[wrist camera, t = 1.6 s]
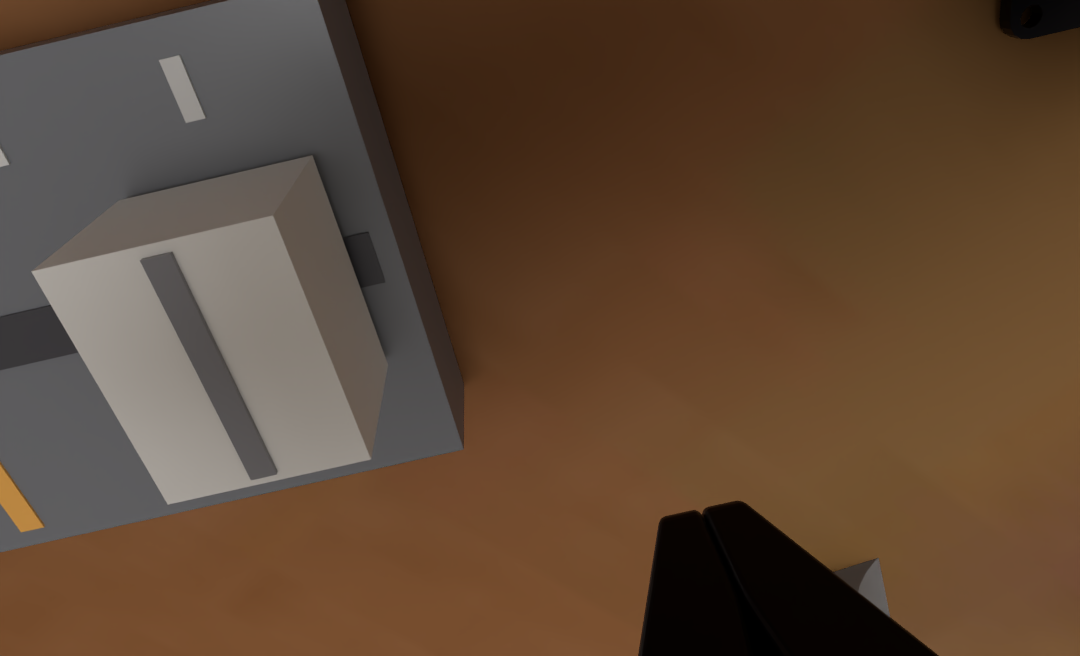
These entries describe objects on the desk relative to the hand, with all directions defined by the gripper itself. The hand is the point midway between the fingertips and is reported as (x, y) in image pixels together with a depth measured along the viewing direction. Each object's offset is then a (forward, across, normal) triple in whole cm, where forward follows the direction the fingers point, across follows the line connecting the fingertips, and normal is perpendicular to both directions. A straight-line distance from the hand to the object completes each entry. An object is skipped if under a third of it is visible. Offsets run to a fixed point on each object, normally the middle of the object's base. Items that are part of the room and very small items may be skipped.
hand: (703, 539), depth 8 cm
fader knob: (+10, +7, 0) cm, 12 cm away
